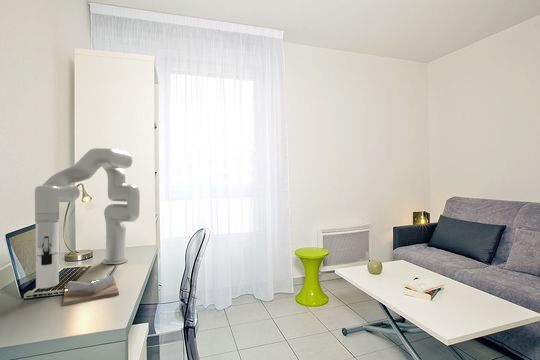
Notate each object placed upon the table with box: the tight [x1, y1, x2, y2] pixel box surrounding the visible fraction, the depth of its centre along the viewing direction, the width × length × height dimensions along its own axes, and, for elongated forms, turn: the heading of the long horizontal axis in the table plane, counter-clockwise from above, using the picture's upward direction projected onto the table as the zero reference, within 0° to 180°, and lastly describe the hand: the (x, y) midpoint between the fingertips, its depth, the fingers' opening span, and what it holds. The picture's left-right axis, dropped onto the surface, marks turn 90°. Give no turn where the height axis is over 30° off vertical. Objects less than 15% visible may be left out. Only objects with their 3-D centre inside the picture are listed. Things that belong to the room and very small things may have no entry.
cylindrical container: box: [35, 220, 60, 289], centre depth 113 cm, size 7×7×25 cm
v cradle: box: [63, 274, 120, 306], centre depth 118 cm, size 20×18×5 cm
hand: (47, 261), depth 114 cm, fingers closed on cylindrical container, 7 cm apart
